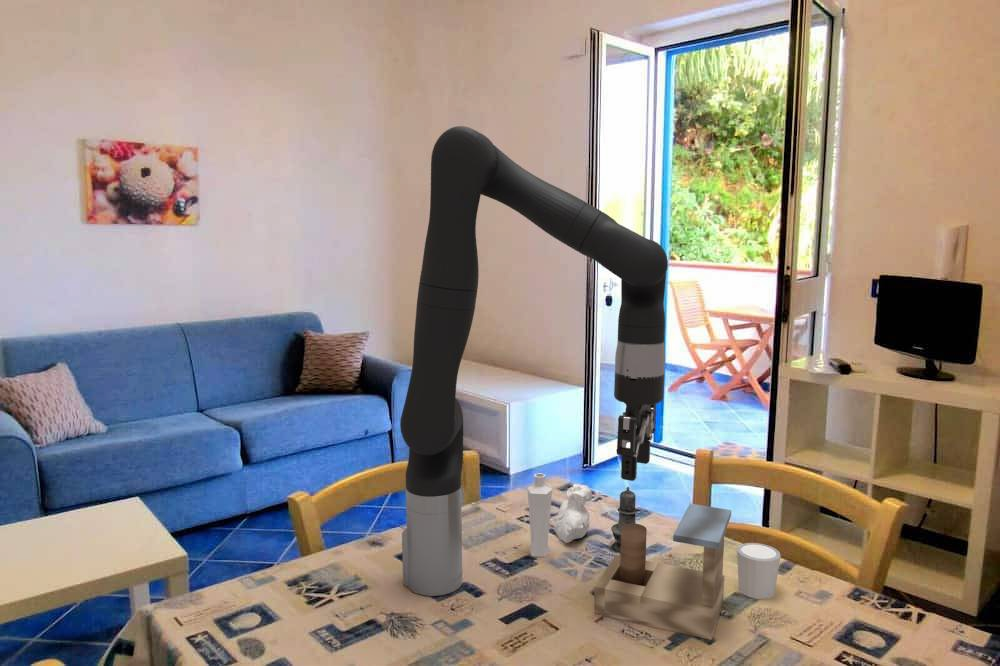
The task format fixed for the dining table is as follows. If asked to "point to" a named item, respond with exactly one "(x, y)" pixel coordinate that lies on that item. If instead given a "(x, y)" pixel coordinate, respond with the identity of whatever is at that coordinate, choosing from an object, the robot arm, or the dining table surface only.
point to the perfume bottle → (539, 516)
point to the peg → (633, 554)
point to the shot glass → (757, 570)
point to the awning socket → (673, 582)
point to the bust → (573, 514)
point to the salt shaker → (624, 516)
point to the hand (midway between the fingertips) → (635, 470)
